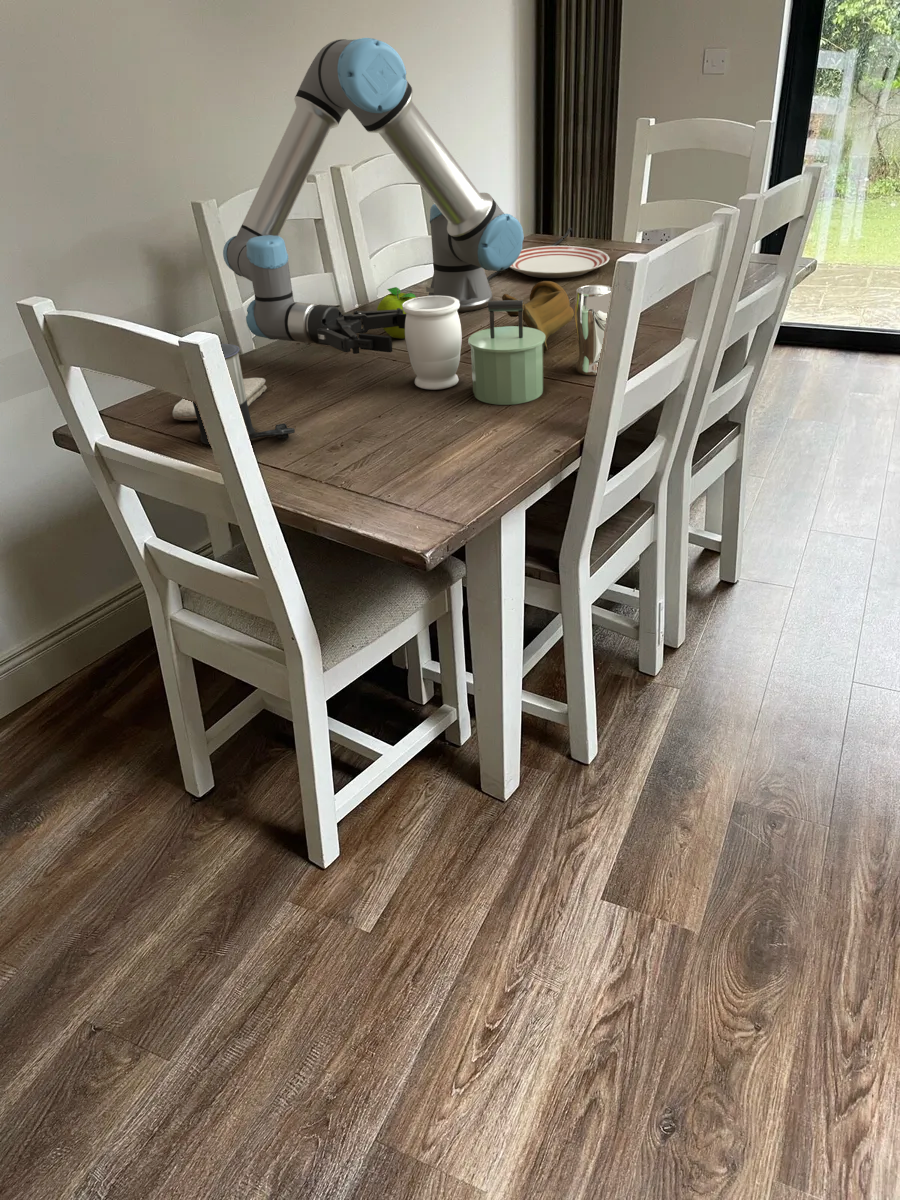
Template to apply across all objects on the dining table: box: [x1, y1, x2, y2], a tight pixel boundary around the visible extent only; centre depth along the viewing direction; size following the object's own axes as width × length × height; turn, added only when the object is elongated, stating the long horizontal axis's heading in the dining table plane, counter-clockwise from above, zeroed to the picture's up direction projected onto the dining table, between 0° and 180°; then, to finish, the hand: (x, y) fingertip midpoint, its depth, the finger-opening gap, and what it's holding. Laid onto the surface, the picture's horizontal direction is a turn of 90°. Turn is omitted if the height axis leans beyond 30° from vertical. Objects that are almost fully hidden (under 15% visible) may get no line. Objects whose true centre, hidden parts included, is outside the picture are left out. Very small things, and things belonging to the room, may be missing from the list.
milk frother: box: [192, 343, 296, 446], centre depth 153 cm, size 14×16×15 cm
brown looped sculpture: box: [501, 280, 575, 354], centre depth 189 cm, size 18×13×22 cm
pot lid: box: [467, 299, 546, 353], centre depth 161 cm, size 14×14×8 cm
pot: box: [470, 344, 545, 406], centre depth 166 cm, size 13×13×10 cm
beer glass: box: [574, 284, 613, 376], centre depth 171 cm, size 7×7×15 cm
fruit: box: [376, 286, 417, 340], centre depth 198 cm, size 9×9×10 cm
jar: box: [403, 295, 463, 391], centre depth 171 cm, size 11×10×15 cm
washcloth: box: [172, 377, 268, 422], centre depth 171 cm, size 12×18×3 cm, turn 170°
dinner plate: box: [509, 245, 610, 279], centre depth 242 cm, size 27×27×3 cm
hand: (410, 333), depth 172 cm, fingers open, 13 cm apart
